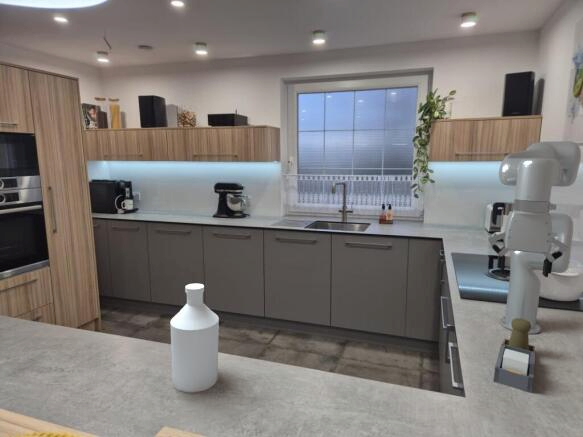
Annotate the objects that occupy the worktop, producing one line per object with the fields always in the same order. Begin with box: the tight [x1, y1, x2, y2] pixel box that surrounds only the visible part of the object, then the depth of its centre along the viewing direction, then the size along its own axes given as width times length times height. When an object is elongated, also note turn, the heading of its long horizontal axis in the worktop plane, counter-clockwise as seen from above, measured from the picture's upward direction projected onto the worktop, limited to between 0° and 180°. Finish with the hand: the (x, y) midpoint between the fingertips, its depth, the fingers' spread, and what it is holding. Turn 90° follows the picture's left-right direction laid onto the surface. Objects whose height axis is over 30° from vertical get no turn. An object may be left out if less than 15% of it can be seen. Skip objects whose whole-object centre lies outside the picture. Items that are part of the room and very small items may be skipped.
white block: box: [502, 349, 529, 376], centre depth 99 cm, size 6×6×7 cm
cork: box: [508, 318, 531, 350], centre depth 114 cm, size 6×6×11 cm
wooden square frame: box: [502, 338, 536, 352], centre depth 114 cm, size 8×8×2 cm
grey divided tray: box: [493, 343, 536, 394], centre depth 103 cm, size 17×9×4 cm, turn 145°
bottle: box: [170, 283, 220, 393], centre depth 94 cm, size 12×12×25 cm
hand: (522, 273), depth 95 cm, fingers open, 9 cm apart
